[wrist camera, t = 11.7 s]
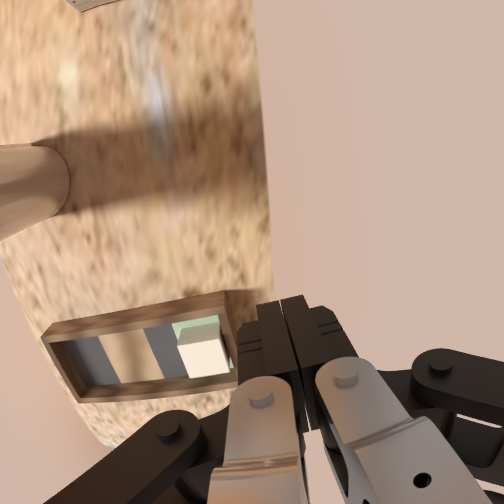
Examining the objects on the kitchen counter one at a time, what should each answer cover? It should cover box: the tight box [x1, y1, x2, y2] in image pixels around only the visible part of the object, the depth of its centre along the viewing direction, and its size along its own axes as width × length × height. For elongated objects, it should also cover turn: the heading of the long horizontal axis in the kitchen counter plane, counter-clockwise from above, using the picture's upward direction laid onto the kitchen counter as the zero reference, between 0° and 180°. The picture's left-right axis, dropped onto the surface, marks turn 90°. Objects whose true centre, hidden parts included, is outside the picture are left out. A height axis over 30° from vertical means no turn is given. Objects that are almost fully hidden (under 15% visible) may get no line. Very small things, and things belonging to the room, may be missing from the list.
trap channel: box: [41, 290, 238, 403], centre depth 39 cm, size 26×12×4 cm, turn 102°
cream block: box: [177, 321, 230, 378], centre depth 38 cm, size 5×5×4 cm
